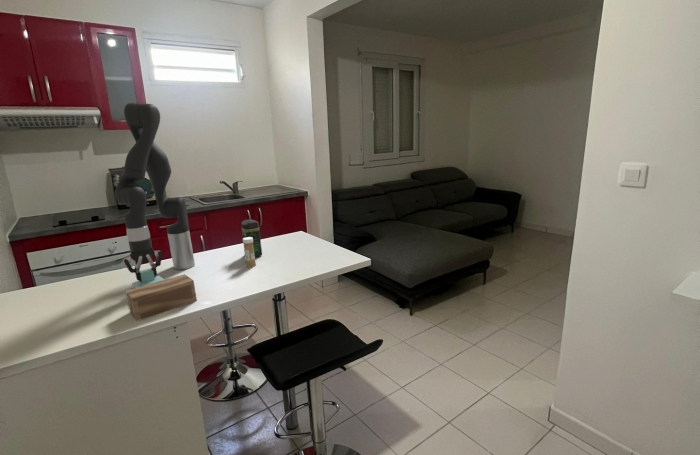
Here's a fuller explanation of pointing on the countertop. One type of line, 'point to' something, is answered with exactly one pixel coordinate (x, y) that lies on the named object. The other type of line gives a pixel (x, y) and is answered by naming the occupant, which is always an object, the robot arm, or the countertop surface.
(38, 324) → the countertop surface
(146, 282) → the cover plate
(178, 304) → the brown wooden block
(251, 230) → the coffee jar
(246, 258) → the sprinkles bottle
